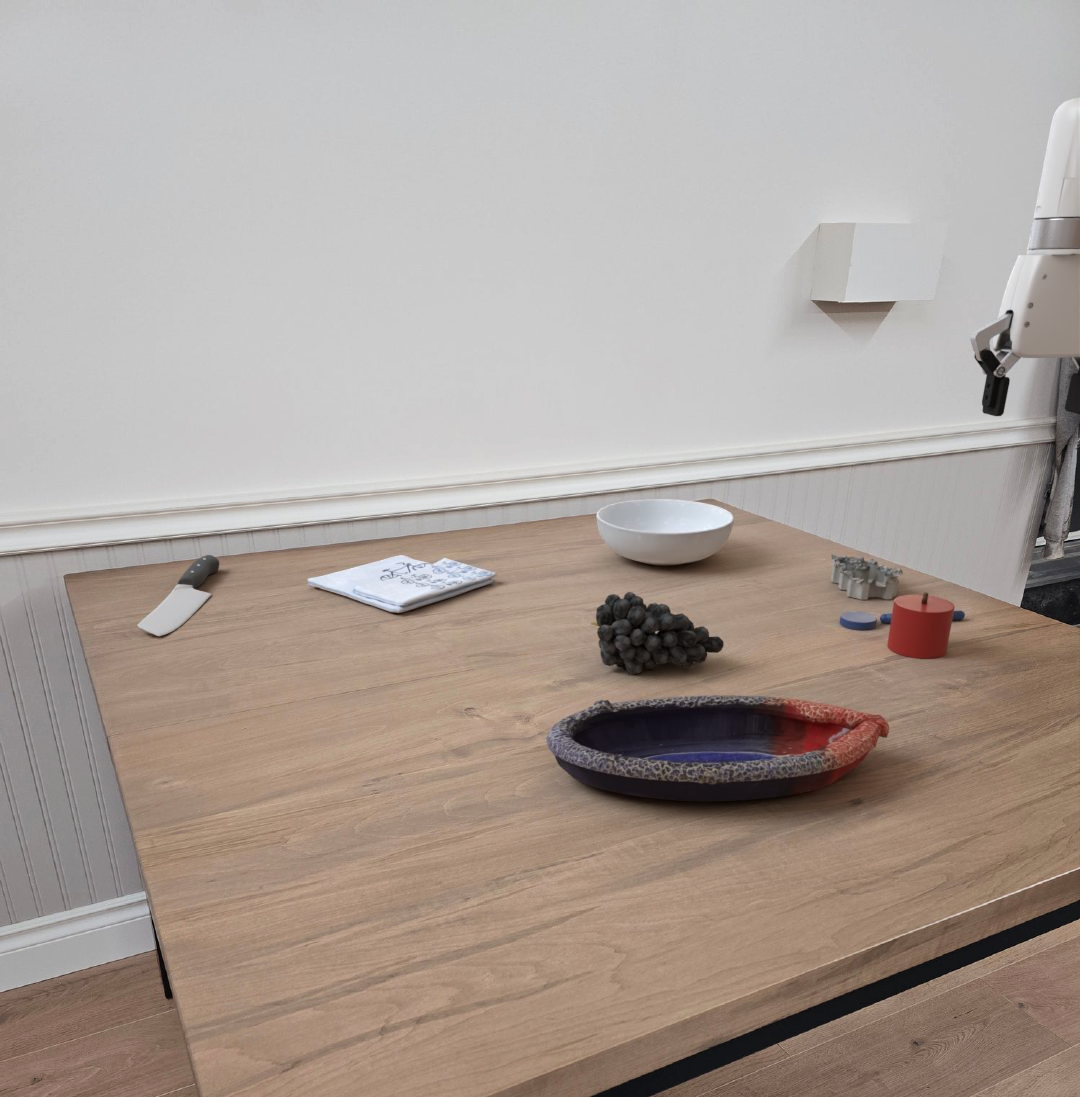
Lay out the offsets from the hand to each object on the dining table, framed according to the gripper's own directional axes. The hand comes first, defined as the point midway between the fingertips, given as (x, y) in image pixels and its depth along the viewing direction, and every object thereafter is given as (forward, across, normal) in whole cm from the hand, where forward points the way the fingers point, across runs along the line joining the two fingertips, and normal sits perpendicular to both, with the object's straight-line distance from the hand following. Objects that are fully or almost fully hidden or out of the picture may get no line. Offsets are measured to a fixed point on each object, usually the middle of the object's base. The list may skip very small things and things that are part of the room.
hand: (1034, 413), depth 106 cm
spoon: (+26, +8, -7) cm, 28 cm away
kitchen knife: (+26, +100, -28) cm, 107 cm away
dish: (+26, +42, +29) cm, 58 cm away
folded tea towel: (+26, +71, -31) cm, 82 cm away
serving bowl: (+26, +31, -40) cm, 57 cm away
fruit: (+26, +42, +4) cm, 50 cm away
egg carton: (+26, +7, -21) cm, 35 cm away
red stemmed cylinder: (+26, +10, +2) cm, 28 cm away
